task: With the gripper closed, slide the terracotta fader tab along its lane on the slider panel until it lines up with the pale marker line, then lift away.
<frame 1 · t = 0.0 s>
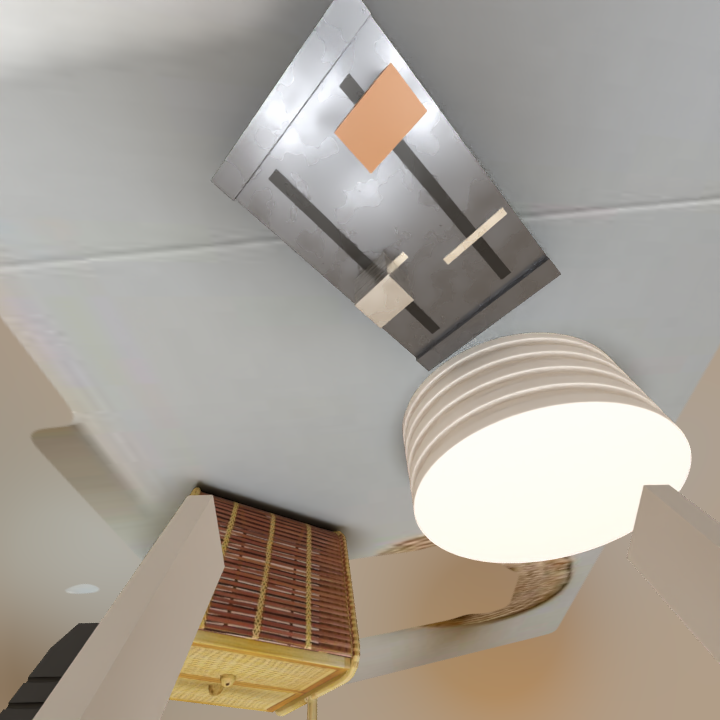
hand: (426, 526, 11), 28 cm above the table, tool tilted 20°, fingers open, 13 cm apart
picnic basket: (253, 530, 63), on the table
fader: (377, 119, 23), point 6 cm above the table, slide at 0.0 cm
plate stack: (507, 421, 49), on the table
slider panel: (395, 219, 33), on the table
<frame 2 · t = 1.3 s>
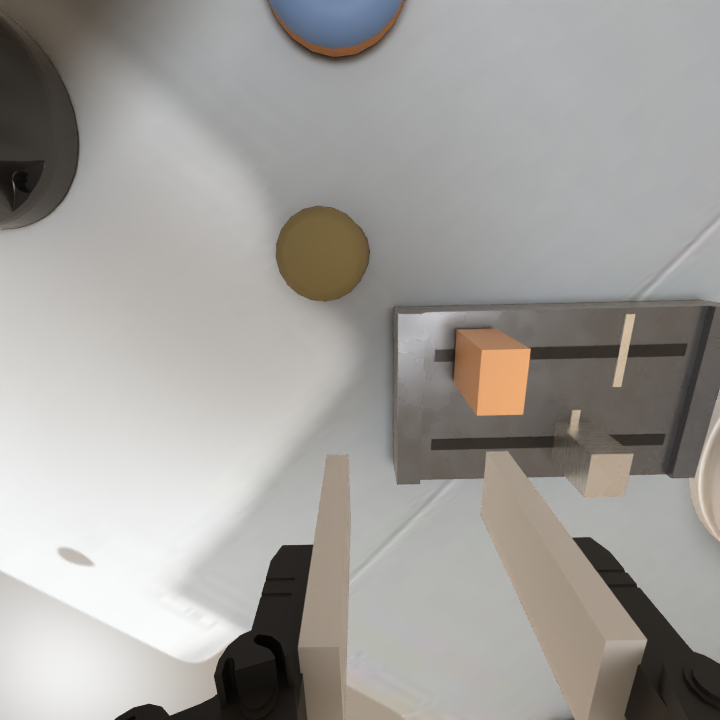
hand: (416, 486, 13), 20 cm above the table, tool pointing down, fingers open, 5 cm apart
fader: (486, 368, 26), point 6 cm above the table, slide at 0.0 cm
slider panel: (536, 386, 33), on the table
cork: (332, 253, 30), on the table
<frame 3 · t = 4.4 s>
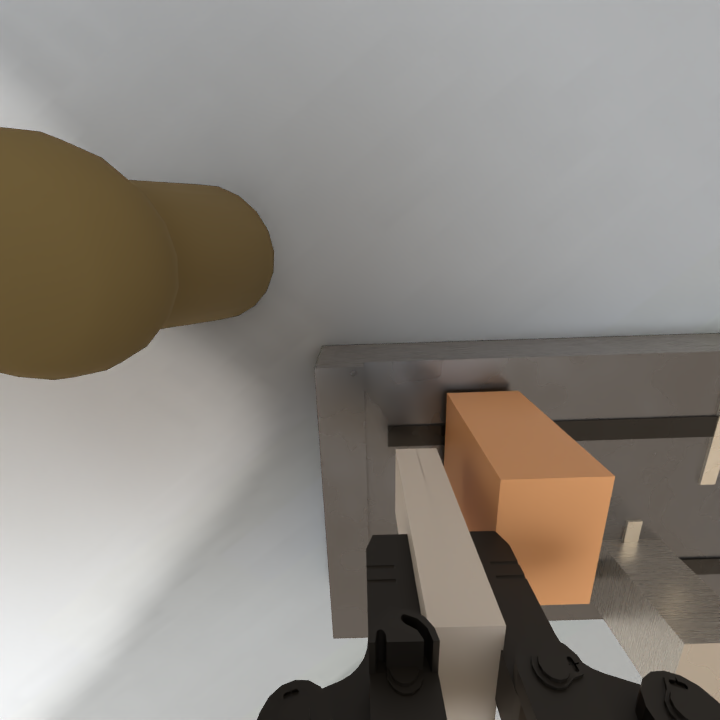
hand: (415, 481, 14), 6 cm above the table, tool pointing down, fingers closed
fader: (506, 480, 13), point 6 cm above the table, slide at 1.0 cm, touching gripper
slider panel: (562, 467, 20), on the table
cork: (210, 255, 17), on the table
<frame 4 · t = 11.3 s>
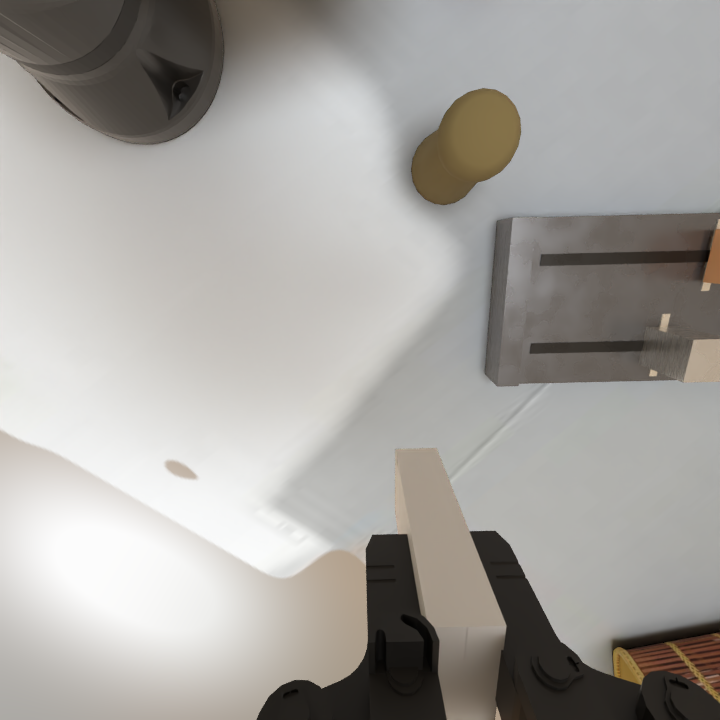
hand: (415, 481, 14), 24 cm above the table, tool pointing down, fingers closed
picnic basket: (703, 667, 51), on the table
slider panel: (622, 298, 36), on the table
cork: (444, 168, 33), on the table
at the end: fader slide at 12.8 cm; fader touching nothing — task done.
